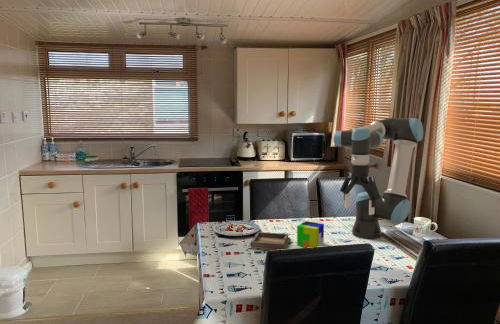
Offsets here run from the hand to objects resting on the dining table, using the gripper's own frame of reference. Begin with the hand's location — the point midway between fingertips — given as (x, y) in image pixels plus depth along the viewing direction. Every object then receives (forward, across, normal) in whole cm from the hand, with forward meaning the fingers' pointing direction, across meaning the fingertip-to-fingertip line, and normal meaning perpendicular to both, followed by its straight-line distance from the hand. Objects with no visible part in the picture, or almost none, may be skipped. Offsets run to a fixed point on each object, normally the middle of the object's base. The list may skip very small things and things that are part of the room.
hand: (359, 211), depth 171 cm
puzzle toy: (+22, -26, -4) cm, 35 cm away
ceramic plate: (+22, -66, -23) cm, 73 cm away
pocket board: (+22, -39, -20) cm, 49 cm away
